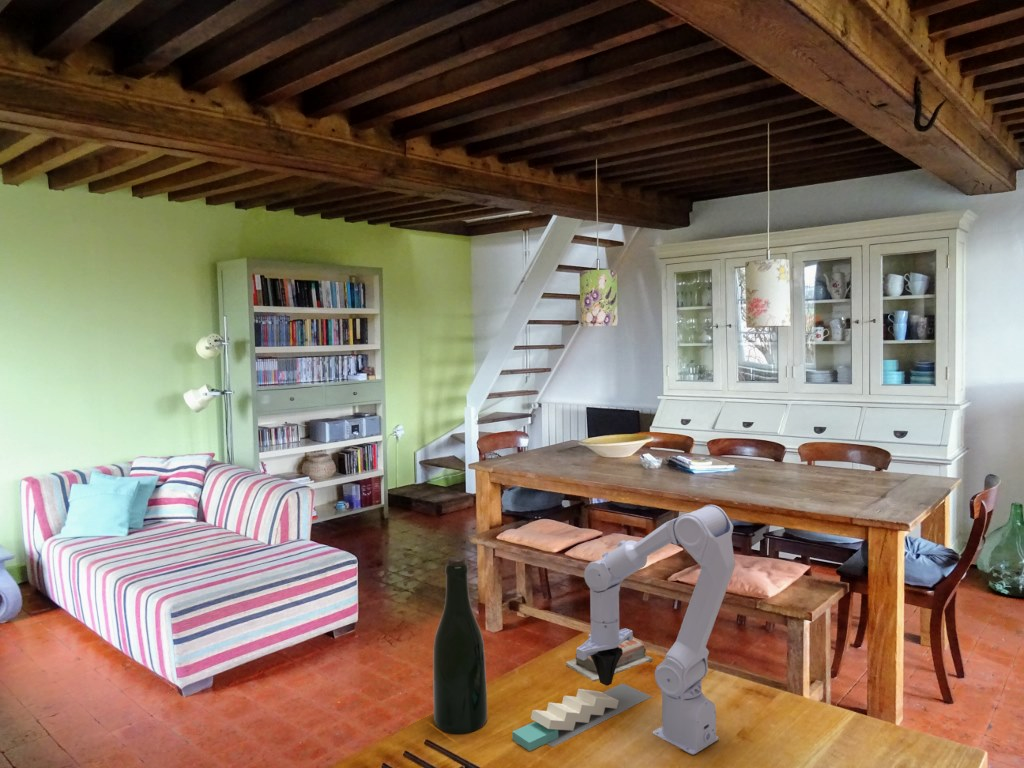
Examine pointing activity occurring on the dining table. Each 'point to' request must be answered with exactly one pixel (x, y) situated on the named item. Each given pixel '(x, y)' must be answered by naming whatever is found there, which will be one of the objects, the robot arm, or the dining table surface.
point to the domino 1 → (534, 735)
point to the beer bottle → (459, 659)
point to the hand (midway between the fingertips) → (605, 683)
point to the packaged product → (629, 658)
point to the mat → (605, 711)
